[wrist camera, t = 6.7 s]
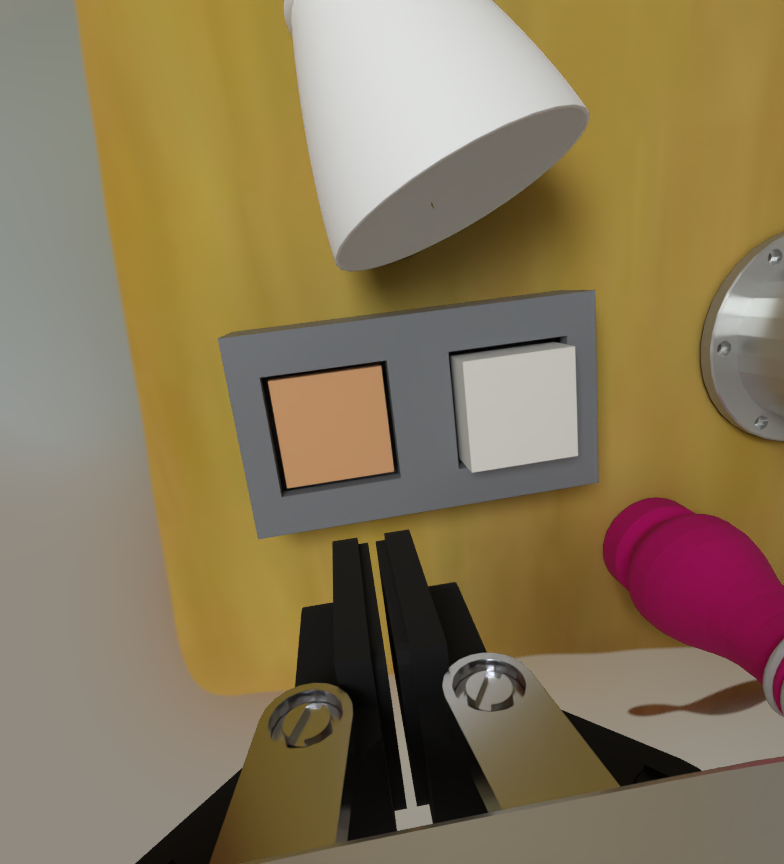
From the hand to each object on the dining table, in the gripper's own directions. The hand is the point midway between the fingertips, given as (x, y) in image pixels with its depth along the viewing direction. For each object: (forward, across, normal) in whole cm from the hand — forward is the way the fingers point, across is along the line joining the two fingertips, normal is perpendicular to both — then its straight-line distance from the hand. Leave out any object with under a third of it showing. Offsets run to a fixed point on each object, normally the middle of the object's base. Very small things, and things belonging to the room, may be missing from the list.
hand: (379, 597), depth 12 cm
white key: (+16, -8, 0) cm, 18 cm away
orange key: (+18, +1, 0) cm, 18 cm away
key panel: (+19, -4, 0) cm, 20 cm away
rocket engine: (+20, -4, -17) cm, 27 cm away
